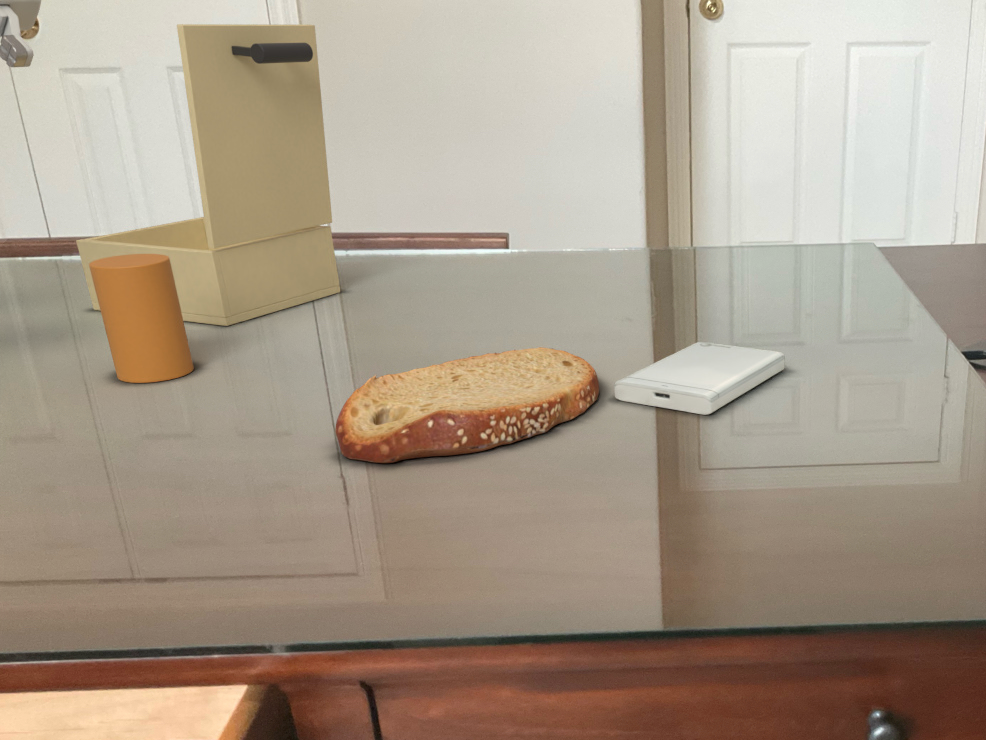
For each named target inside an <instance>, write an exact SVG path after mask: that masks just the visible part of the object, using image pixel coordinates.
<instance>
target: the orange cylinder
mask: <svg viewBox="0 0 986 740" xmlns="http://www.w3.org/2000/svg"><path fill="white" fill-rule="evenodd" d="M89 267H90V271H91V275H92V279H93V283H94V287H95V291H96V295H97V299H98V303H99V307H100V314H101V318H102V322H103V326H104V330H105V334H106V338H107V341H108V345H109V349H110V355H111V358H112V361H113V366H114V370H115V373H116V377H117V379H118V380H119V381H121V382H124V383H131V384H146V383H147V384H148V383H157V382H165V381H171V380H174V379H178V378H181V377H184V376H186V375H189V374H190V373H192V372H193V371H194V369H195V368H194V367H195V366H194V363H193V358H192V353H191V350H190V345H189V340H188V335H187V331H186V326H185V321H183V317H182V313H181V308H180V304H179V299H178V295H177V290H176V285H175V281H174V276H173V272H172V267H171V263H170V258H169V257H168V256H166V255H161V254H131V255H120V256H113V257H107V258H102V259H98V260H95V261H92V262H91V263H89Z"/></svg>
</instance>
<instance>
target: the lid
mask: <svg viewBox="0 0 986 740" xmlns="http://www.w3.org/2000/svg"><path fill="white" fill-rule="evenodd" d="M176 30H177V38H178V44H179V52H180V58H181V65H182V71H183V72H182V73H183V79H184V85H185V87H184V88H185V93H186V99H187V108H188V114H189V120H190V129H191V135H192V143H193V150H194V157H195V164H196V170H197V178H198V184H199V193H200V199H201V207H202V213H203V217H204V221H205V228H206V235H207V242H208V247H209V248H218V247H223V246H228V245H232V244H237V243H241V242H246V241H250V240H255V239H260V238H264V237H269V236H273V235H278V234H282V233H287V232H292V231H296V230H301V229H305V228H310V227H315V226H325V225H328V224H332V223H333V215H332V213H333V212H332V203H331V193H330V192H331V191H330V182H329V181H330V180H329V171H328V170H329V169H328V157H327V149H326V148H327V147H326V146H327V145H326V133H325V124H324V113H323V102H322V92H321V80H320V67H319V58H318V56H319V55H318V46H317V36H316V35H317V34H316V25H315V24H267V23H266V24H258V23H257V24H254V23H253V24H250V23H249V24H237V23H236V24H235V23H234V24H232V23H231V24H228V23H227V24H224V23H223V24H220V23H219V24H218V23H217V24H210V23H209V24H207V23H206V24H203V23H201V24H199V23H198V24H194V23H193V24H192V23H191V24H189V23H187V24H186V23H185V24H183V23H182V24H176Z"/></svg>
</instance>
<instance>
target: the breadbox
mask: <svg viewBox="0 0 986 740" xmlns="http://www.w3.org/2000/svg"><path fill="white" fill-rule="evenodd" d="M75 243H76V246H77V249H78V255H79V258H80V261H81V265H82V270H83V273H84V277H85V281H86V284H87V285H86V286H87V288H88V289H87V290H88V292H89V296H90V300H91V304H92V308H93V310H94V311H100V307H99V303H98V299H97V295H96V291H95V287H94V283H93V279H92V275H91V271H90V267H89V263H91V262H92V261H95V260H98V259H102V258H107V257H113V256H120V255H131V254H161V255H166V256H168V257H169V258H170V263H171V267H172V272H173V276H174V281H175V285H176V290H177V295H178V299H179V304H180V308H181V313H182V317H183V322H189V323H190V322H191V323H198V324H207V325H213V326H222V327H230V326H232V325H236V324H239V323H242V322H245V321H246V322H247V321H249V320H252V319H255V318H259V317H262V316H266V315H269V314H272V313H276V312H279V311H283V310H285V309H289V308H292V307H295V306H299V305H303V304H306V303H309V302H313V301H317V300H319V299H323V298H325V297H330V296H333V295H336V294H340V293H341V286H340V278H339V272H338V267H337V266H338V265H337V260H336V254H335V247H334V240H333V234H332V228H331V225H319V226H315V227H310V228H305V229H301V230H296V231H292V232H287V233H282V234H278V235H273V236H269V237H264V238H260V239H255V240H250V241H246V242H241V243H237V244H232V245H228V246H223V247H218V248H209V247H208V242H207V235H206V228H205V221H204V216H200V217H195V218H190V219H183V220H179V221H173V222H168V223H161V224H157V225H151V226H147V227H142V228H135V229H130V230H126V231H119V232H114V233H108V234H104V235H103V234H102V235H98V236H93V237H87V238H82V239H77V240H75ZM100 312H101V311H100Z"/></svg>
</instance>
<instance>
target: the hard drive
mask: <svg viewBox="0 0 986 740" xmlns="http://www.w3.org/2000/svg"><path fill="white" fill-rule="evenodd" d="M785 360H786V358H785V354H784V353H783V352H780V351H776V350H769V349H761V348H753V347H748V346H747V347H746V346H738V345H731V344H721V343H715V342H708V341H707V342H706V341H697V342H695V343H693V344H690V345H688V346H686V347H685V348H683V349H680V350H678V351H676V352H675V353H672V354H670V355H668V356H665V357H664V358H662V359H660V360H658V361H656V362H654V363H651V364H650V365H647V366H645V367H643V368H641V369H639V370H637V371H634V372H633V373H631V374H628V375H627V376H624V377H623V378H621V379H619V380H617V381H615V382H614V387H613V388H614V389H613V390H614V398H615V399H617V400H619V401H621V402H628V403H631V404H638V405H644V406H652V407H658V408H662V409H669V410H673V411H674V410H675V411H680V412H686V413H690V414H697V415H703V416H706V415H710V414H713V413H714V412H716V411H717V410H718V409H721V408H722V407H724V406H726V405H727V404H729V403H731V402H732V401H733V400H736V399H737V398H739V397H740V396H742V395H744V394H745V393H747V392H749V391H751V390H752V389H753V388H756V387H757V386H759V385H761V384H762V383H764V382H765V381H767V380H769V379H770V378H771V377H773V376H775V375H777V374H778V373H780V372H782V371H783V370H784V369H785V366H786V362H785Z"/></svg>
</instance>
